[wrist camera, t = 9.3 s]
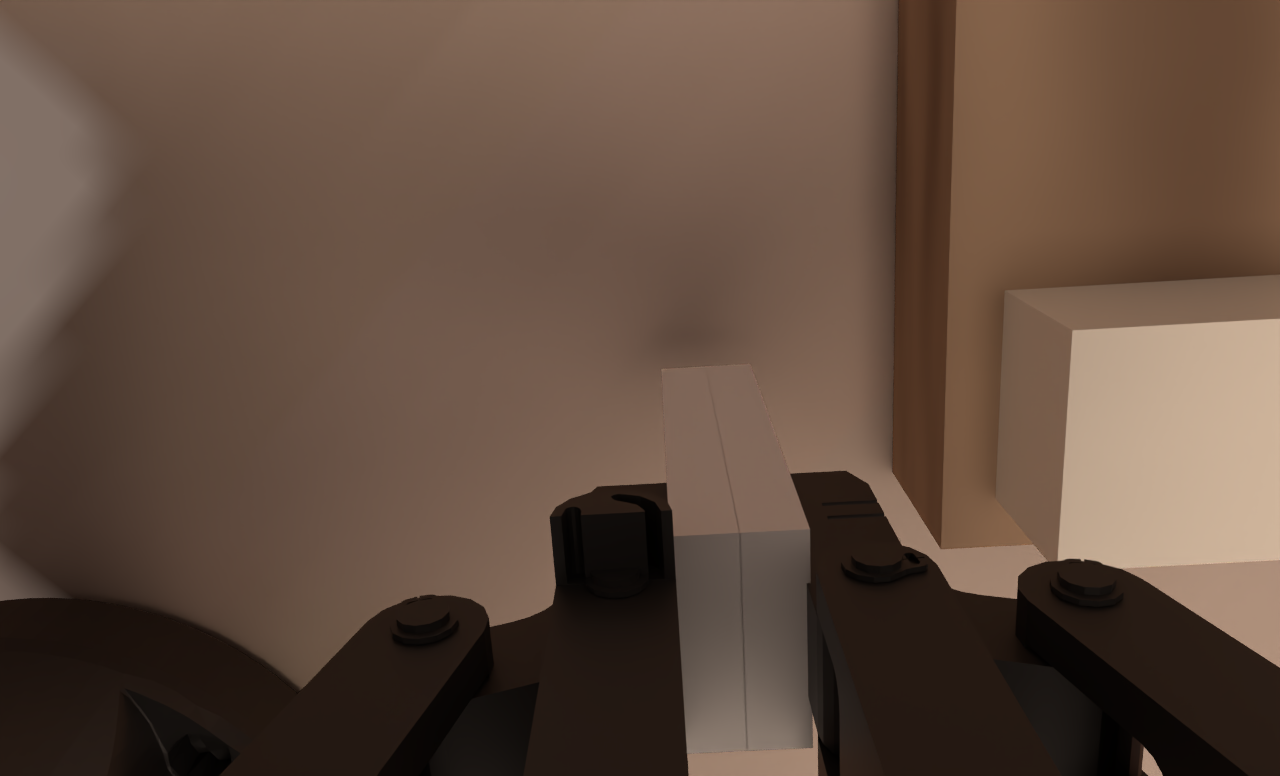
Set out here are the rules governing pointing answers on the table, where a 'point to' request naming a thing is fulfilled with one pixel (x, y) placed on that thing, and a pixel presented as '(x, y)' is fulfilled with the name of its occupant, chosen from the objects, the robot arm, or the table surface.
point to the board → (1060, 195)
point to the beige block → (1143, 421)
